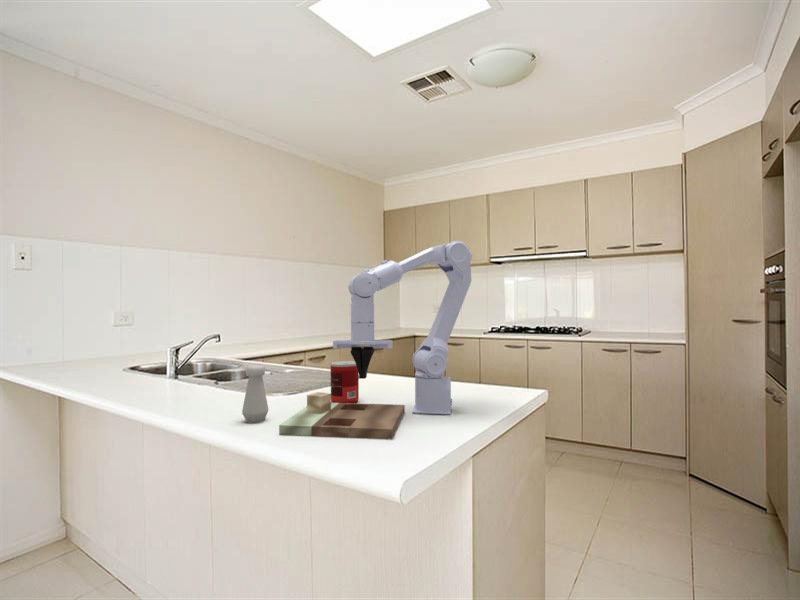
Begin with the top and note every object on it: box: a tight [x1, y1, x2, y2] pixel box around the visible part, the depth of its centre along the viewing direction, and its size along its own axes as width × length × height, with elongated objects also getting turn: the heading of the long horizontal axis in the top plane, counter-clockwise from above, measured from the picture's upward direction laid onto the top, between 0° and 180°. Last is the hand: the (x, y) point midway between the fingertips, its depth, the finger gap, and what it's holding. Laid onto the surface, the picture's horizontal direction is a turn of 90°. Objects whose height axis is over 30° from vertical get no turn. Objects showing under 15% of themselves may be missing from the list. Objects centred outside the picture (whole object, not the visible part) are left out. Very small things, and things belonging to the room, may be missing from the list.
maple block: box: [306, 391, 332, 414], centre depth 106 cm, size 4×4×4 cm
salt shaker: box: [241, 364, 269, 424], centre depth 105 cm, size 6×6×13 cm
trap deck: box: [278, 402, 406, 440], centre depth 103 cm, size 24×22×2 cm
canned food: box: [330, 360, 360, 403], centre depth 125 cm, size 8×8×11 cm
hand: (363, 377), depth 110 cm, fingers closed
